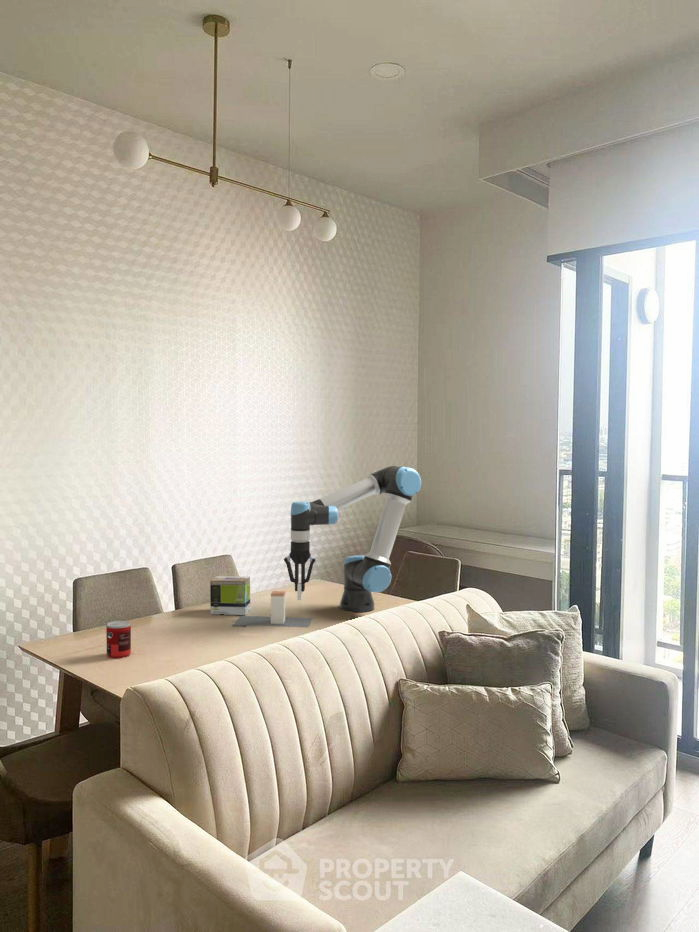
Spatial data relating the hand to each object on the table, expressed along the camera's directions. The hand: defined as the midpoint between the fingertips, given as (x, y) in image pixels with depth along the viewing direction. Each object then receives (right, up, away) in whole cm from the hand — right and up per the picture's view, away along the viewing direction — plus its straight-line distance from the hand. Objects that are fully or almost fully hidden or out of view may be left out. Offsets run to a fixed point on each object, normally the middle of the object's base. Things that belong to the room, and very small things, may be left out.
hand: (299, 599), depth 287 cm
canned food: (-59, -12, -41) cm, 73 cm away
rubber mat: (-11, -10, +2) cm, 15 cm away
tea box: (-31, -9, +18) cm, 37 cm away
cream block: (-9, -9, +1) cm, 13 cm away
